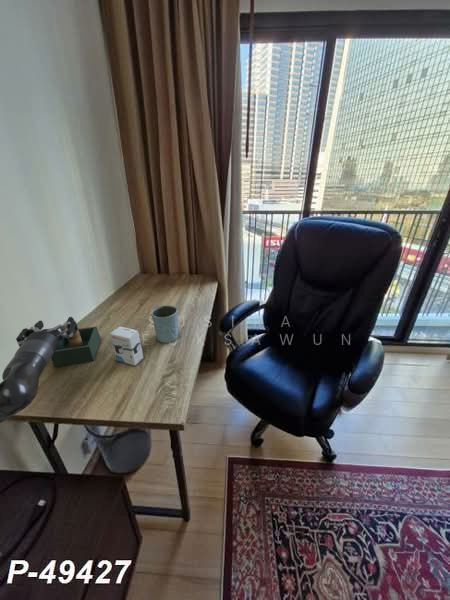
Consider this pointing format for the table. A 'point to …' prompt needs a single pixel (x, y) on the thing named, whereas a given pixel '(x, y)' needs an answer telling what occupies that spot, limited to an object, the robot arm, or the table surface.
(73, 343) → the wooden cylinder
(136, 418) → the table surface
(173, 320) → the blue grey cup
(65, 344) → the bin
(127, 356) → the ink box
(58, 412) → the table surface
